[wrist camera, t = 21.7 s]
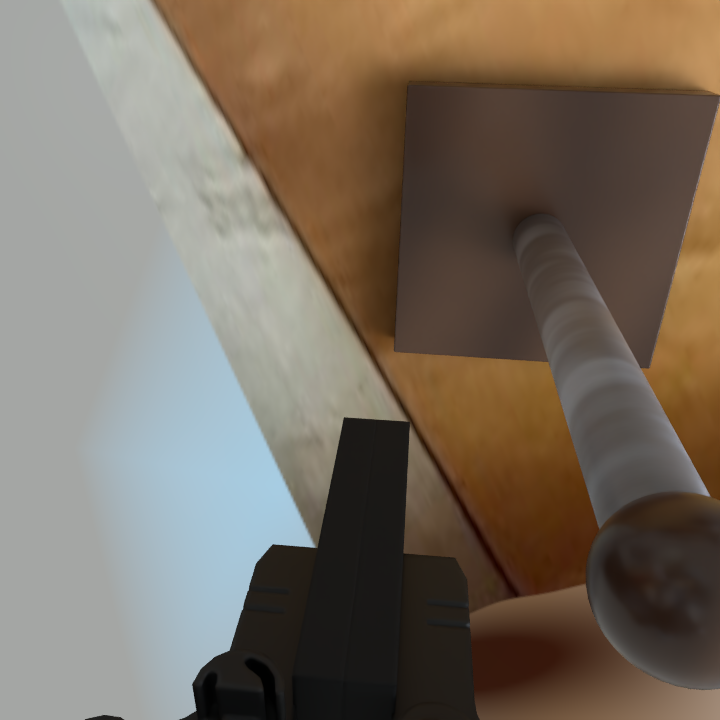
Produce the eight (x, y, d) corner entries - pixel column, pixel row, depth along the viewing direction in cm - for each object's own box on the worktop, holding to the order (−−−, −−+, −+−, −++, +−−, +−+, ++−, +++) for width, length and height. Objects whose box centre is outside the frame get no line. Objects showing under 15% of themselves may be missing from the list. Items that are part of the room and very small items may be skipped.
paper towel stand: (648, 356, 35) (408, 318, 39) (717, 91, 29) (423, 74, 32) (705, 891, 14) (166, 703, 18) (1005, 342, 8) (74, 217, 11)
